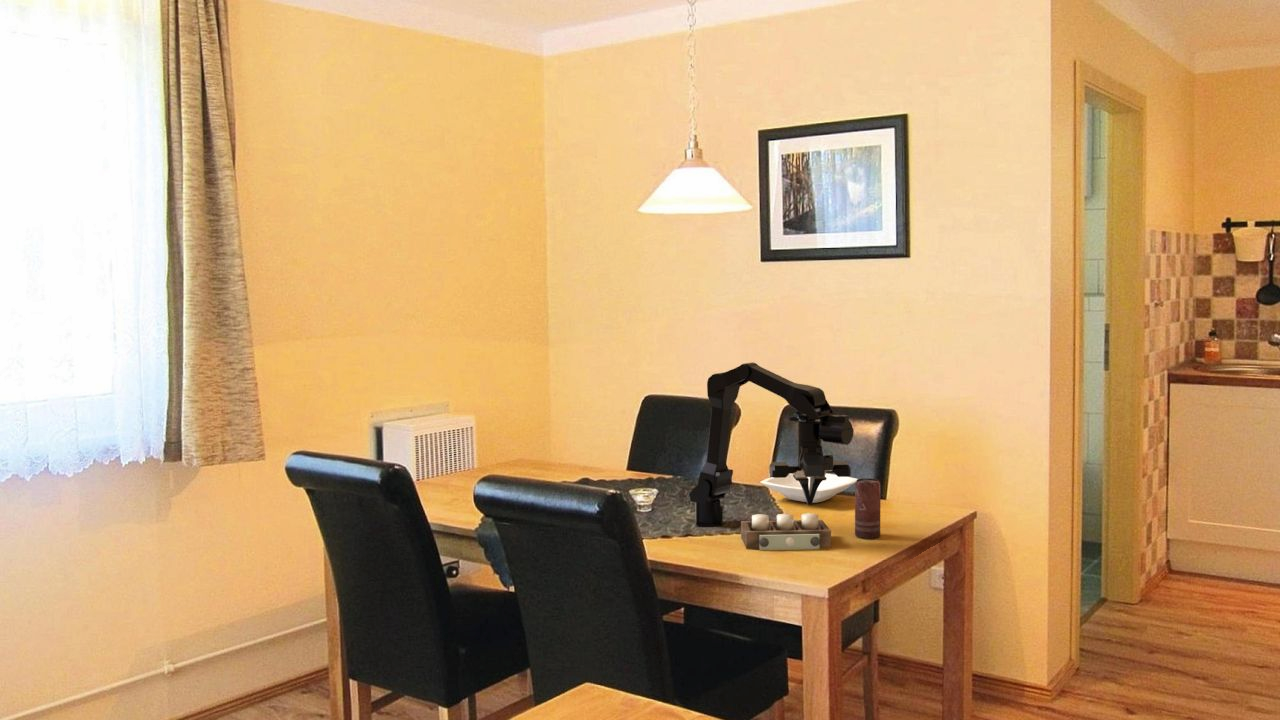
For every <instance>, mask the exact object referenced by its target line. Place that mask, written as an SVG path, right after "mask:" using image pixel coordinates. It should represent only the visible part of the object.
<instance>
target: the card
mask: <svg viewBox="0 0 1280 720" xmlns="http://www.w3.org/2000/svg"><path fill="white" fill-rule="evenodd" d="M759 543H760V549H759V551H785V550H786V551H790V550H791V551H793V550H797V551H798V550H800V551H802V550H804V551H805V550H820V548H819V543H820V540H819V534H789V535H760V541H759Z"/></svg>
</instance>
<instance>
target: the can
mask: <svg viewBox="0 0 1280 720" xmlns="http://www.w3.org/2000/svg"><path fill="white" fill-rule="evenodd" d="M857 479H858V480H857V481H856V482H855V483H854V535H855V537H856V538H858V539H862V540H875V539H878V538H880V536H881V504H882V503H881V499H882V498H881V493H882V491H881V489H882V488H881V486H882V485H881V482H880V480H879V479H876V478H857Z"/></svg>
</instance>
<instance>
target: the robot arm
mask: <svg viewBox="0 0 1280 720" xmlns="http://www.w3.org/2000/svg"><path fill="white" fill-rule="evenodd" d="M747 383H752V384H754V385H756V386H759V387H760V388H763V389H764V390H767V391H769V392H770V393H773V394H774V395H776V396H779V397H781V398H782V399H784V400H785V401H786V403H787V404H788V405H789V406H790V407H792V408H793V409H794V410H795V413H794V414H793V415H791V416H790V418H789V421H790V422H797V465H789V464H788V463H787V462H786V461H772V462H771V463H770V464H769V465H768V466H769V467H768V469H769V473H768V474H769V475H770V476H771V477H773V478H786V477H787V476H788V475H789V473H793V477H794V478H795V480H797V481H799V482H800V484H801V487H802V489H803V492H804V495H805V498H806V501H807V502H806V504H807V505H808V506H811V505H813V503H812V502H813V499H814V496H815V494H816V491H817V488H818V486H819V485H820V483H821V482H822V481H823V480H826V479H827V478H826V477H825V475H826V473H827V474H834V475H837V476H838V477H851V471H852V470H851V466H850V465H849V464H848V463H847V462H846V461H844V460H843V461H842V460H841V461H837V460H835V461H834V456H833V454H832V455H831V454H827V455H824V454H823V445H822V444H823V442H824V443H825V444H826V443H828V444H836V445H846V446H848V445H849V444H850V443H851V442H852V441H853V437H854V428H853V424H852V422H851V421H850V417H849V415H846V414H842V415H838V414H836V413H835V411H834V410H833V408H832V407H831V405H830V403H829V402H828V401H827V398H826V395H825V391H824V390H823V389H821V388H819V387H816V386H813V385H808V384H804V383H798V382H793V381H791V380H790V379H787V378H785V377H783V376H781V375H778V374H777V373H774V372H773V371H770V370H769V369H766V368H764V367H762V366H760V365H759V364H757V363H756V362H746V363H741V364H740V365H739V366H736V367H735V368H732V369H729V370H726V371H724V372H718V373H713V374H711V376H709V377H708V379H707V381H706V389H707V391H706V393H707V398H708V400H709V403H710V405H711V411H710V423H709V432H708V433H709V434H708V444H707V454H706V461H705V463H704V465H703V467H702V469H700V472H699V475H698V479H697V484H696V485H695V487H694V488H692V490H691V491H690V492H689V494H688V496H689V499H690V502H691V503H695V505H694V506H695V507H694V511H695V513H694V514H695V518H694V524H695V526H696V527H718V526H719V527H721V526H722V523H723V518H724V517H723V516H724V515H723V512H724V511H723V505H722V504H721V499H724V498H725V497H726V493H727V492H728V491H729V489H730V488H731V486H733V478H732V477H733V474H734V470H733V469H730V468H729V466H728V465H727V462H726V461H727V451H728V443H729V441H728V439H729V433H730V421H731V411H732V407H733V405H734V404H735V402H736V400H737V399H738V396H739V392H740V388H741V386H744V385H746V384H747ZM822 441H823V442H822ZM807 477H810V488H809V485H808V483H809V479H808V478H807Z"/></svg>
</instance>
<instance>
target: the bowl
mask: <svg viewBox="0 0 1280 720" xmlns="http://www.w3.org/2000/svg"><path fill="white" fill-rule="evenodd" d="M825 477H826V478H827V479H826V480H823V481H822V482H821V483H820V485H819V486H818V488H817V491H816V494H815V496H814V499H813V502H812V504H817V503H821V502H824V501H828V500H830V499H831V498H833V497H834V496H835V495H837V494H839V493H842V492H844V491H845V490H846V489H848V488H850V487H851V486H853V485H855V483H856V481H857V480H858V479H859V478H855V477H851V476H849V477H838V476H837V475H836V474H835V473H826V475H825ZM807 478H808V479H809V483H808V485H809V488H810V477H807ZM760 483H761V484H762V485H764V486H765V487H766V488H768V489H770V490H771V491H772V492H776V493H780V495H782V496H783V497H785V498H786V499H787V500H792V501H797V502H803V503H807V501H806V498H805V495H804V492H803V489H802V487H801V484H800V482H799V481H797V480H795V478H794V477H793V473H789V475H788V476H787V477H786V478H773V477H772V476H771V477H768V478H764V479H763V480H761V481H760Z"/></svg>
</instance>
